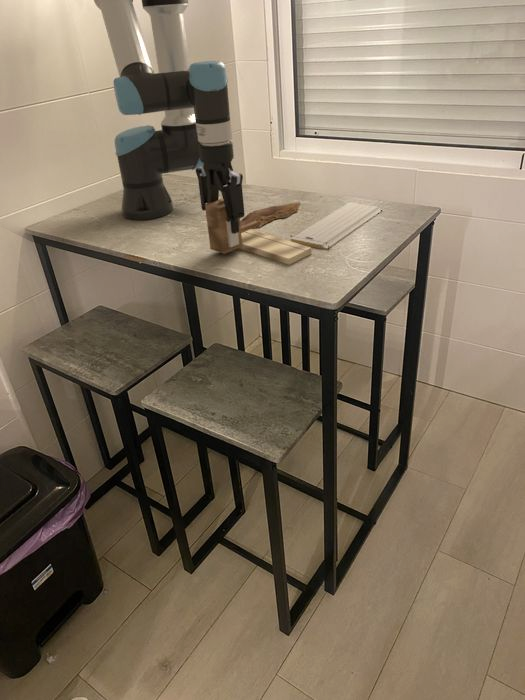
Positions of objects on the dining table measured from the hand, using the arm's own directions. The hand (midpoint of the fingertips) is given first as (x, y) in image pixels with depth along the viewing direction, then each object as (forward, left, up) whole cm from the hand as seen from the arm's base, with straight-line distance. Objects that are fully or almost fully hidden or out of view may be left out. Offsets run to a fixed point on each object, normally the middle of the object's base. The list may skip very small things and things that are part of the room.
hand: (225, 242), depth 129 cm
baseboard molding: (+12, +30, -3) cm, 33 cm away
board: (+6, +8, -3) cm, 10 cm away
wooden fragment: (-10, +26, -3) cm, 28 cm away
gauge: (0, +4, -1) cm, 4 cm away
